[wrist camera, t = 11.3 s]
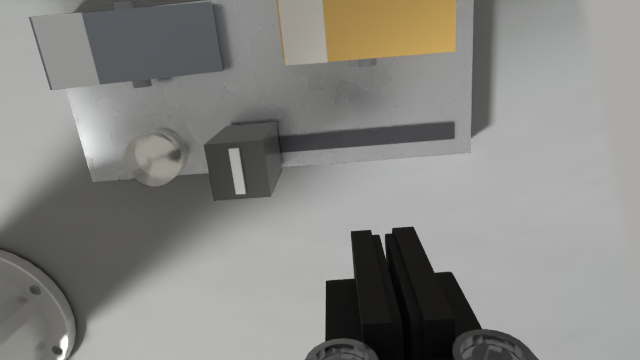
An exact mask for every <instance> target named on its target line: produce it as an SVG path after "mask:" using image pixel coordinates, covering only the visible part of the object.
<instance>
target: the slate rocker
mask: <svg viewBox="0 0 640 360" xmlns="http://www.w3.org/2000/svg"><path fill="white" fill-rule="evenodd" d="M113 4H114V8H115V10H108V11H97V12H85V13H82V12H80V13H69V14H57V15H46V16H34V17H29V19H30V22H31V26H32V29H33V33H34V36H35V39H36V43H37V46H38V49H39V53H40V56H41V59H42V63H43V66H44V70H45V73H46V76H47V80H48V83H49V86H50V90H58V89H67V88H77V87H86V86H95V85H102V84H110V83H119V82H128V81H132V85H133V88H142V87H149V86H152V83H151V79H156V78H166V77H175V76H184V75H193V74H203V73H212V72H221V71H223V64H222V58H221V52H220V46H219V39H218V33H217V27H216V21H215V15H214V9H213V3H212V2H200V3H188V4H177V5H165V6H154V7H142V8H135V5H134V1H117V2H113Z"/></svg>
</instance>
